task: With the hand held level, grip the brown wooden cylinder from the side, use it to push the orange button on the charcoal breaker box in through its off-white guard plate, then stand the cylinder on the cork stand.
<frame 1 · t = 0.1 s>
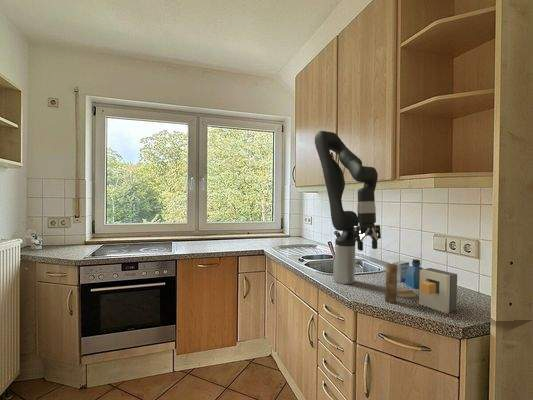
hand: (367, 249, 130), 17 cm above the counter, tool pointing down, fingers open, 8 cm apart
perfume bottle: (415, 286, 136), on the counter
cork stand: (404, 294, 124), on the counter
brown wooden cylinder: (390, 301, 116), on the counter
breaker box: (436, 307, 110), on the counter
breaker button: (427, 287, 107), point 8 cm above the counter, slide at 0.0 cm
medicine box: (400, 280, 146), on the counter
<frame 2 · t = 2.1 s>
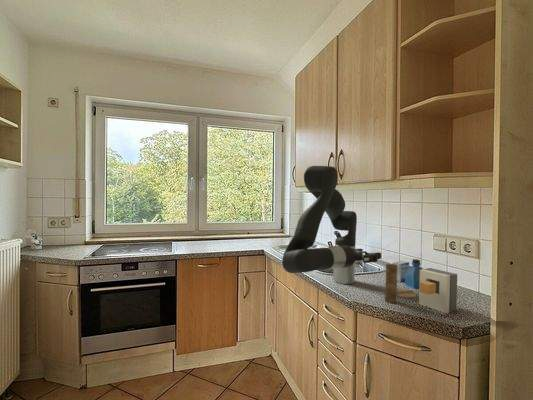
hand: (370, 253, 110), 19 cm above the counter, tool horizontal, fingers open, 8 cm apart
nothing on the counter moved.
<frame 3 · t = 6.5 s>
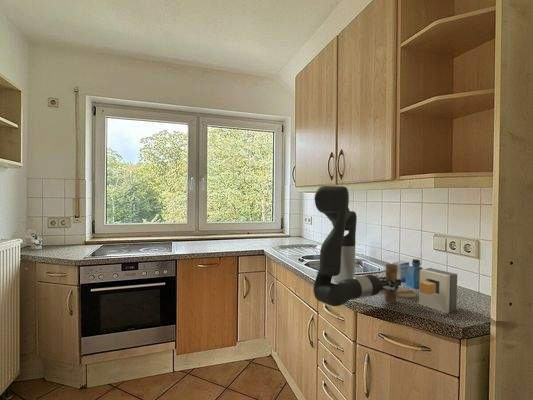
hand: (394, 280, 117), 8 cm above the counter, tool horizontal, fingers closed on brown wooden cylinder, 4 cm apart
brown wooden cylinder: (390, 301, 116), on the counter, touching gripper
everything else where it was.
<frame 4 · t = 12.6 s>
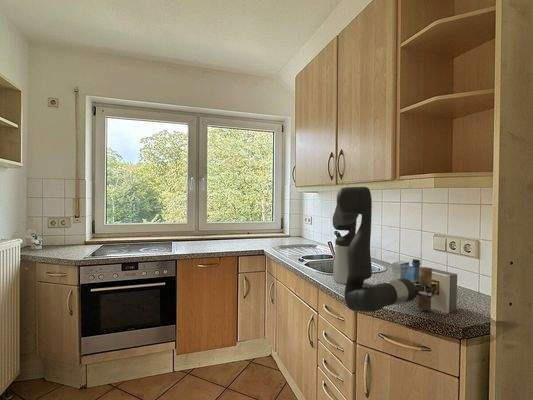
hand: (428, 285, 107), 9 cm above the counter, tool horizontal, fingers closed on brown wooden cylinder, 4 cm apart
brown wooden cylinder: (424, 307, 106), point 1 cm above the counter, touching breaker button, gripper
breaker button: (431, 286, 108), point 8 cm above the counter, slide at 2.4 cm, touching brown wooden cylinder
everything else where it was.
when the fingers open (10 cm above the counter, at t = 18.3 s): brown wooden cylinder drops 1 cm, resting on cork stand.
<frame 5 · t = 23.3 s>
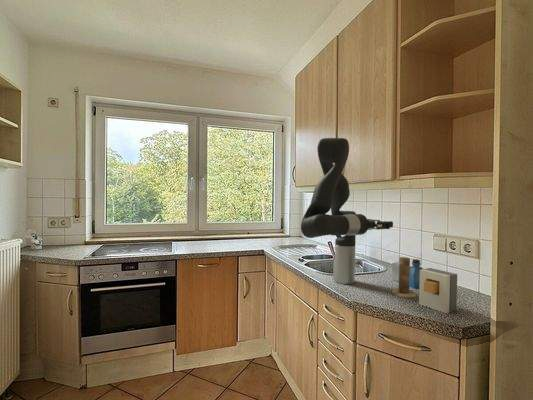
hand: (382, 223, 115), 30 cm above the counter, tool horizontal, fingers open, 8 cm apart
brown wooden cylinder: (403, 292, 124), point 1 cm above the counter, touching cork stand
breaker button: (431, 286, 108), point 8 cm above the counter, slide at 2.4 cm
everything else where it was.
at the end: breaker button slide at 2.4 cm; brown wooden cylinder 0.1 cm off-centre on the cork stand, point 1.0 cm above the cork stand's base; brown wooden cylinder tilted 0° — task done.
